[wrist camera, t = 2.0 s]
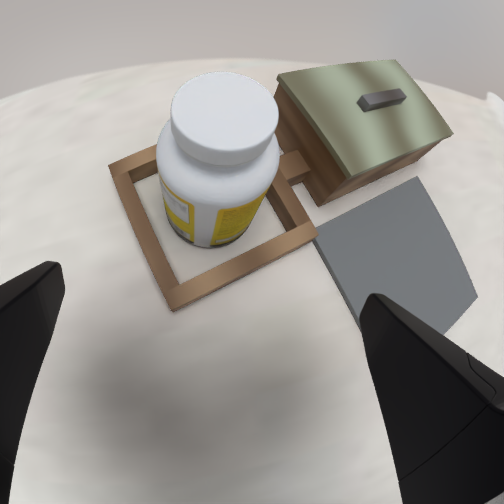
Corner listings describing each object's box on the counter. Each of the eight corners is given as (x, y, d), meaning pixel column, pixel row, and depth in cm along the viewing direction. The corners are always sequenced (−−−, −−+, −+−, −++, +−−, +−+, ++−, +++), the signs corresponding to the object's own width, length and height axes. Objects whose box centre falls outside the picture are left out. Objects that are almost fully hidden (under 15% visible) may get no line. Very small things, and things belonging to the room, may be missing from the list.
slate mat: (386, 383, 22) (390, 384, 22) (307, 233, 24) (310, 230, 24) (473, 297, 26) (477, 296, 26) (414, 178, 28) (417, 175, 28)
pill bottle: (266, 196, 24) (321, 98, 13) (225, 266, 22) (259, 201, 11) (195, 157, 24) (204, 44, 13) (148, 222, 22) (118, 126, 11)
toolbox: (172, 312, 21) (163, 302, 14) (113, 177, 22) (91, 124, 16) (428, 178, 29) (471, 146, 22) (369, 94, 30) (400, 53, 24)
